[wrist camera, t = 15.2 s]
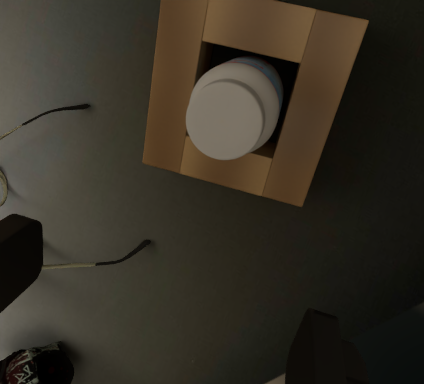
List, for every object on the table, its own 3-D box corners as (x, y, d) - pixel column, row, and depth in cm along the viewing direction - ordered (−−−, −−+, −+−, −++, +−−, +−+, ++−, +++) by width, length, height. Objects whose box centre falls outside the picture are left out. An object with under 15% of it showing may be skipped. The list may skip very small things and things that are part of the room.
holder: (358, 22, 26) (369, 20, 22) (301, 186, 32) (302, 207, 28) (182, -15, 28) (163, -24, 24) (160, 148, 34) (142, 163, 30)
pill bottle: (268, 42, 28) (252, 46, 18) (294, 112, 30) (292, 151, 20) (202, 73, 30) (156, 93, 20) (230, 137, 32) (200, 184, 22)
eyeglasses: (-23, 138, 38) (-65, 152, 34) (88, 97, 34) (56, 106, 29) (49, 265, 44) (21, 291, 39) (154, 245, 39) (136, 272, 35)
